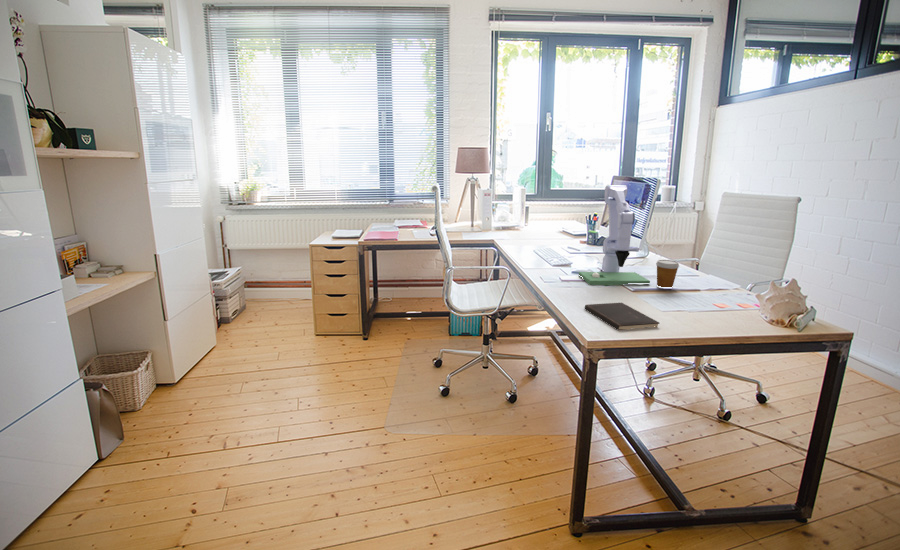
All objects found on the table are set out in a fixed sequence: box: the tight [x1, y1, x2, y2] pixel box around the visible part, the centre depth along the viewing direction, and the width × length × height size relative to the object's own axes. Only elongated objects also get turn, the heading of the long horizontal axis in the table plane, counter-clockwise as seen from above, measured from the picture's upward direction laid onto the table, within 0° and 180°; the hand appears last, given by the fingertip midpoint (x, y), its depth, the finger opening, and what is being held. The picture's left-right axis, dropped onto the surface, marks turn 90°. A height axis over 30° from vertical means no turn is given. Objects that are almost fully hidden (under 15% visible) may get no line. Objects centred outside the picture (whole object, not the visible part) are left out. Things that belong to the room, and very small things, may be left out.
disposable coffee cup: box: [655, 259, 680, 288], centre depth 213 cm, size 10×10×12 cm
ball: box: [592, 273, 600, 278], centre depth 224 cm, size 4×4×4 cm
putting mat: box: [578, 271, 651, 286], centre depth 225 cm, size 16×28×2 cm, turn 93°
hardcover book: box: [584, 302, 660, 331], centre depth 174 cm, size 16×23×2 cm
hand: (620, 266), depth 224 cm, fingers closed
